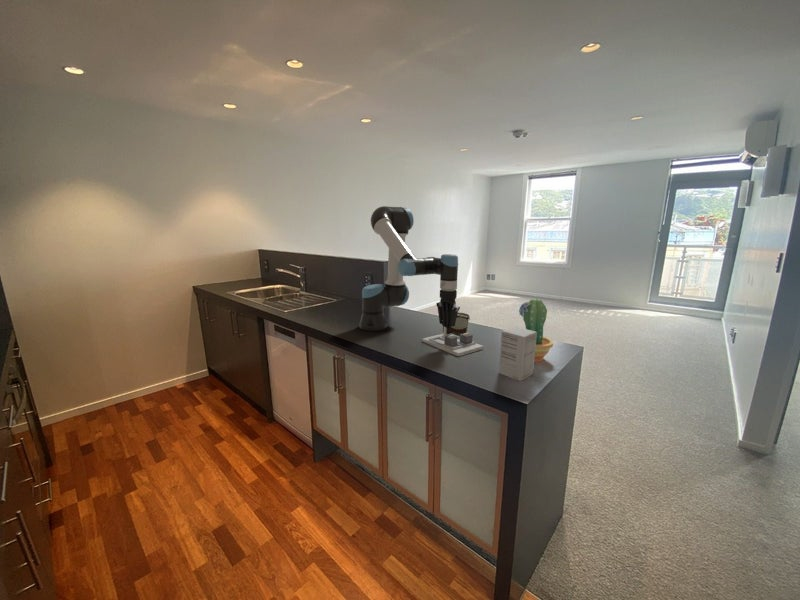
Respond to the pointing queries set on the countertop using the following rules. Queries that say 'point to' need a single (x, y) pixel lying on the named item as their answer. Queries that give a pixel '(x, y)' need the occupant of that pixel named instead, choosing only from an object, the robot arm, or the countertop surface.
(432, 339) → the switch board
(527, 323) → the potted cactus
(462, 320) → the food container
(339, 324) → the countertop surface
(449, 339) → the tab
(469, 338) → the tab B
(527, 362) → the supplement box
